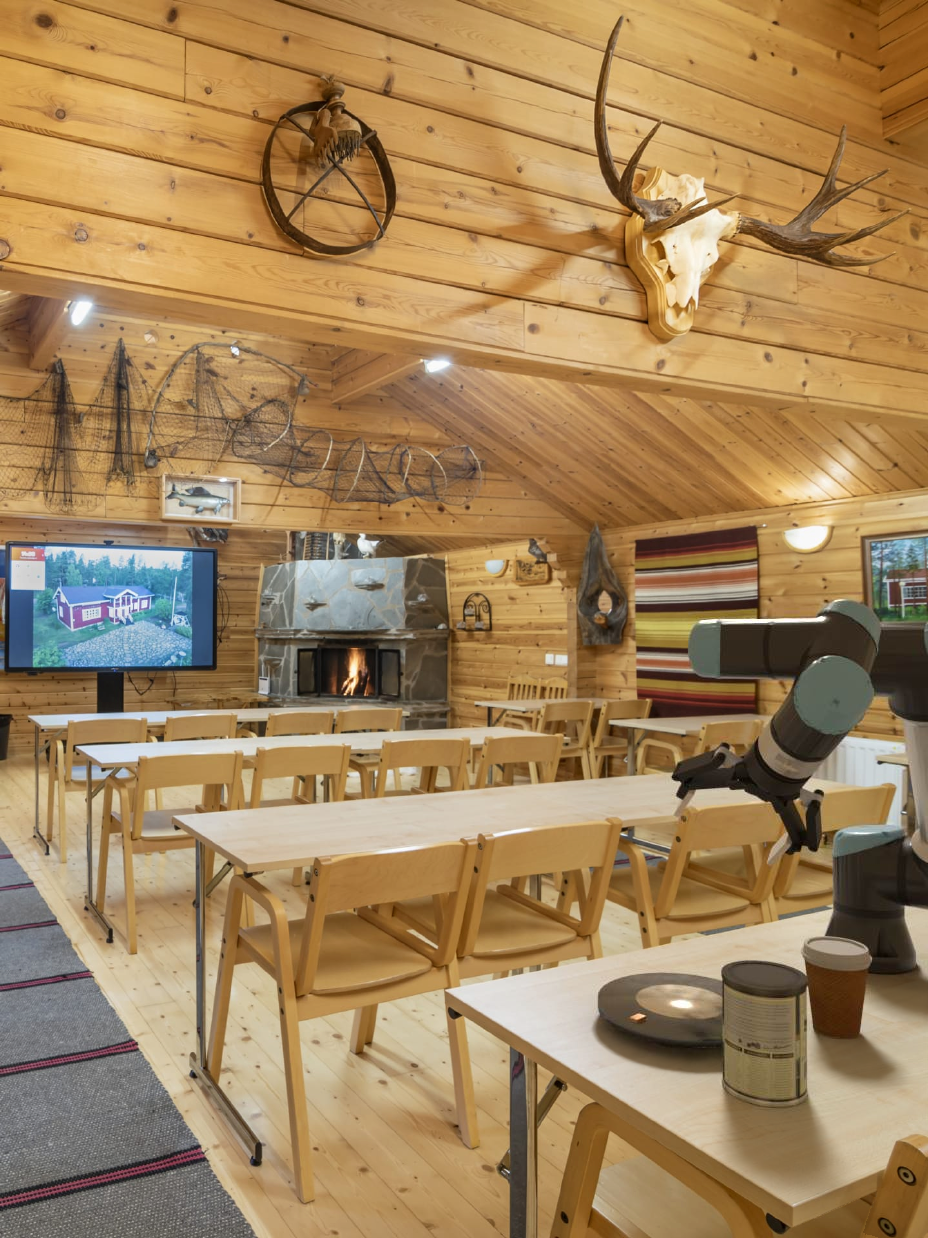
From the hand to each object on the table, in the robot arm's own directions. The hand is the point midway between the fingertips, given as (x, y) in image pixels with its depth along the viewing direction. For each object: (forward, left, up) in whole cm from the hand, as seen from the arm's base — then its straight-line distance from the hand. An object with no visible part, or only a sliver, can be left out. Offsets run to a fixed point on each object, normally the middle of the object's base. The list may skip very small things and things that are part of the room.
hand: (724, 833), depth 129 cm
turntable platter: (-3, -9, -27) cm, 29 cm away
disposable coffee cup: (-18, +7, -29) cm, 35 cm away
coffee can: (+6, +9, -29) cm, 32 cm away
